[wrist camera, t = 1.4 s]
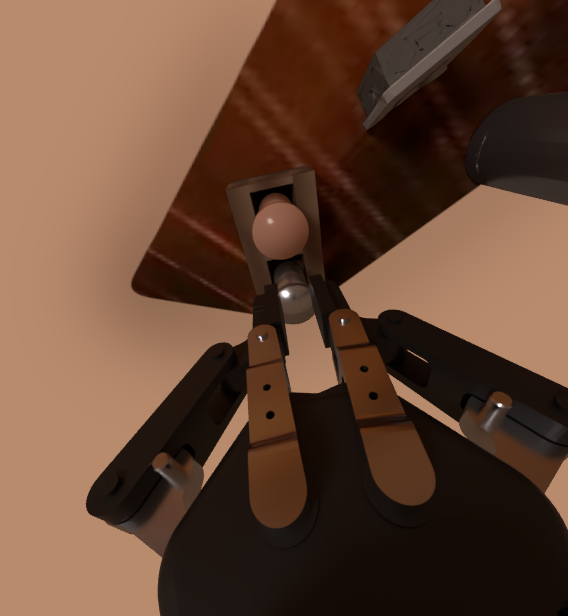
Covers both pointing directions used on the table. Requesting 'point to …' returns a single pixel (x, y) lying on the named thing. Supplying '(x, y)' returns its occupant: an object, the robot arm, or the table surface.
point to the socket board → (246, 212)
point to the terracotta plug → (279, 227)
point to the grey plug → (293, 293)
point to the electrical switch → (421, 53)
